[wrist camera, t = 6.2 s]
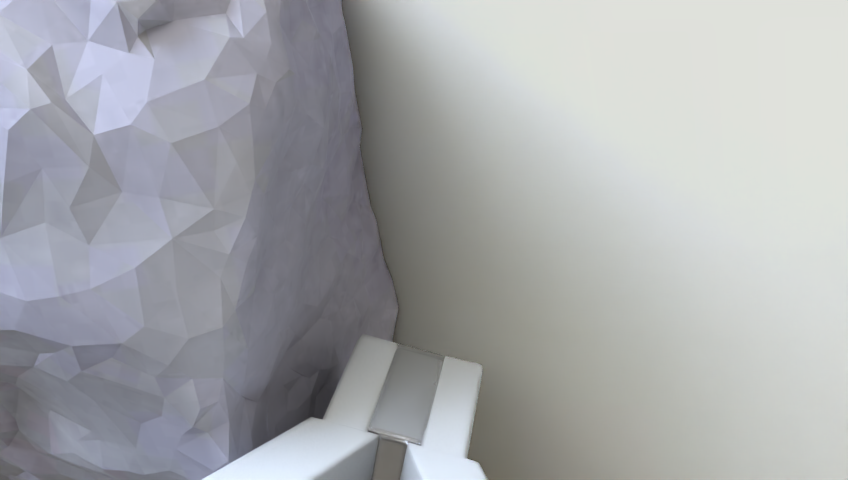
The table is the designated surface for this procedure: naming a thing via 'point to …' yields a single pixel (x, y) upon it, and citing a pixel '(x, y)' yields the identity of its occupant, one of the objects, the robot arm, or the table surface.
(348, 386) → the robot arm
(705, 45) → the table surface
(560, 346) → the table surface
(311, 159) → the stone block
